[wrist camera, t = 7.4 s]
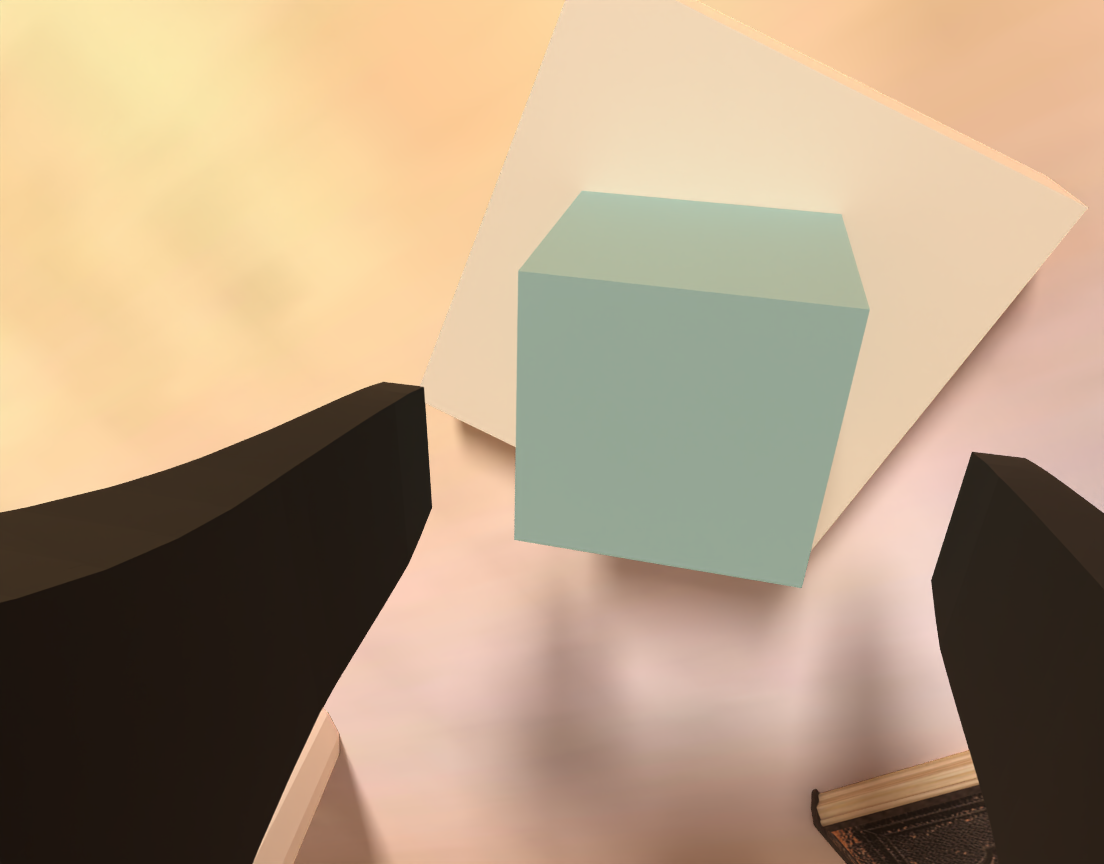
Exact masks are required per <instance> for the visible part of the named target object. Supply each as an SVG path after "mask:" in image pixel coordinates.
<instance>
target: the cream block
mask: <svg viewBox="0 0 1104 864" xmlns="http://www.w3.org/2000/svg"><path fill="white" fill-rule="evenodd" d="M581 191H591V192H602V193H613V194H624V195H635V196H646V197H657V198H668V199H679V200H690V201H701V202H712V203H723V204H734V205H745V206H756V207H767V208H778V209H789V210H800V211H811V212H822V213H833V214H842V218H843V221H844V224H845V228H846V231H847V234H848V238H849V241H850V245H851V248H852V251H853V255H854V258H855V261H856V265H857V268H858V271H859V275H860V278H861V281H862V285H863V288H864V291H865V295H866V298H867V301H868V305H869V308H870V311H869V315H868V319H867V323H866V327H865V332H864V336H863V340H862V344H861V348H860V352H859V356H858V360H857V364H856V368H855V372H854V376H853V381H852V385H851V389H850V393H849V397H848V401H847V405H846V409H845V413H844V417H843V421H842V426H841V430H840V434H839V438H838V442H837V446H836V450H835V454H834V458H833V462H832V466H831V470H830V475H829V479H828V483H827V487H826V491H825V495H824V499H823V503H822V507H821V511H820V515H819V519H818V524H817V528H816V532H815V536H814V540H813V544H812V548H811V550H812V549H813V548H814V547H815V545H816V544H817V543H818V542H819V540H820V539H821V538H822V537H823V535H824V534H825V533H826V532H827V530H828V529H829V528H830V527H831V526H832V524H833V523H834V522H835V521H836V519H837V518H838V517H839V516H840V514H841V513H842V512H843V511H844V509H845V508H846V507H847V506H848V504H849V503H850V502H851V501H852V500H853V498H854V497H855V496H856V495H857V493H858V492H859V491H860V490H861V488H862V487H863V486H864V485H865V483H866V482H867V481H868V480H869V478H870V477H871V476H872V475H873V474H874V472H875V471H876V470H877V469H878V467H879V466H880V465H881V464H882V462H883V461H884V460H885V459H886V457H887V456H888V455H889V454H890V452H891V451H892V450H893V449H894V448H895V446H896V445H897V444H898V443H899V441H900V440H901V439H902V438H903V436H904V435H905V434H906V433H907V431H908V430H909V429H910V428H911V426H912V425H913V424H914V423H915V422H916V420H917V419H918V418H919V417H920V415H921V414H922V413H923V412H924V410H925V409H926V408H927V407H928V405H929V404H930V403H931V402H932V400H933V399H934V398H935V397H936V396H937V394H938V393H939V392H940V391H941V389H942V388H943V387H944V386H945V384H946V383H947V382H948V381H949V379H950V378H951V377H952V376H953V374H954V373H955V372H956V371H957V369H958V368H959V367H960V366H961V365H962V363H963V362H964V361H965V360H966V358H967V357H968V356H969V355H970V353H971V352H972V351H973V350H974V348H975V347H976V346H977V345H978V343H979V342H980V341H981V340H982V339H983V337H984V336H985V335H986V334H987V332H988V331H989V330H990V329H991V327H992V326H993V325H994V324H995V322H996V321H997V320H998V319H999V317H1000V316H1001V315H1002V314H1003V313H1004V311H1005V310H1006V309H1007V308H1008V306H1009V305H1010V304H1011V303H1012V301H1013V300H1014V299H1015V298H1016V296H1017V295H1018V294H1019V293H1020V291H1021V290H1022V289H1023V288H1024V287H1025V285H1026V284H1027V283H1028V282H1029V280H1030V279H1031V278H1032V277H1033V275H1034V274H1035V273H1036V272H1037V270H1038V269H1039V268H1040V267H1041V265H1042V264H1043V263H1044V262H1045V261H1046V259H1047V258H1048V257H1049V256H1050V254H1051V253H1052V252H1053V251H1054V249H1055V248H1056V247H1057V246H1058V244H1059V243H1060V242H1061V241H1062V239H1063V238H1064V237H1065V236H1066V235H1067V233H1068V232H1069V231H1070V230H1071V228H1072V227H1073V226H1074V225H1075V223H1076V222H1077V221H1078V220H1079V218H1080V217H1081V216H1082V215H1083V213H1084V212H1085V211H1086V210H1087V209H1088V207H1087V206H1086V205H1085V204H1083V203H1082V202H1081V201H1079V200H1078V199H1077V198H1075V197H1074V196H1073V195H1071V194H1070V193H1069V192H1067V191H1066V190H1065V189H1063V188H1062V187H1061V186H1059V185H1058V184H1057V183H1055V182H1054V181H1053V180H1051V179H1050V178H1049V177H1047V176H1046V175H1044V174H1042V173H1040V172H1038V171H1036V170H1034V169H1032V168H1030V167H1028V166H1026V165H1024V164H1022V163H1020V162H1018V161H1016V160H1014V159H1012V158H1010V157H1008V156H1006V155H1004V154H1002V153H1000V152H998V151H996V150H994V149H992V148H990V147H988V146H986V145H984V144H982V143H980V142H978V141H976V140H974V139H972V138H970V137H968V136H966V135H964V134H962V133H960V132H958V131H956V130H954V129H952V128H950V127H948V126H946V125H944V124H942V123H940V122H938V121H936V120H934V119H932V118H930V117H928V116H926V115H924V114H922V113H920V112H918V111H916V110H914V109H912V108H910V107H908V106H906V105H904V104H902V103H900V102H898V101H896V100H894V99H892V98H890V97H888V96H886V95H884V94H882V93H880V92H878V91H877V90H875V89H873V88H871V87H869V86H867V85H865V84H863V83H861V82H859V81H857V80H855V79H853V78H851V77H849V76H847V75H845V74H843V73H841V72H839V71H837V70H835V69H833V68H831V67H829V66H827V65H825V64H823V63H821V62H819V61H817V60H815V59H813V58H811V57H809V56H807V55H805V54H803V53H801V52H799V51H797V50H795V49H793V48H791V47H789V46H787V45H785V44H783V43H781V42H779V41H777V40H775V39H773V38H771V37H769V36H767V35H765V34H763V33H761V32H759V31H757V30H755V29H753V28H751V27H749V26H747V25H745V24H743V23H741V22H739V21H737V20H735V19H733V18H731V17H729V16H727V15H725V14H723V13H721V12H719V11H717V10H715V9H713V8H711V7H709V6H707V5H705V4H703V3H701V2H699V1H697V0H565V3H564V5H563V8H562V11H561V13H560V16H559V19H558V21H557V24H556V26H555V29H554V32H553V34H552V37H551V40H550V42H549V45H548V48H547V50H546V53H545V56H544V58H543V61H542V64H541V66H540V69H539V72H538V74H537V77H536V80H535V82H534V85H533V87H532V90H531V93H530V95H529V98H528V101H527V103H526V106H525V109H524V111H523V114H522V117H521V119H520V122H519V125H518V127H517V130H516V133H515V135H514V138H513V141H512V143H511V146H510V148H509V151H508V154H507V156H506V159H505V162H504V164H503V167H502V170H501V172H500V175H499V178H498V180H497V183H496V186H495V188H494V191H493V194H492V196H491V199H490V202H489V204H488V207H487V209H486V212H485V215H484V217H483V220H482V223H481V225H480V228H479V231H478V233H477V236H476V239H475V241H474V244H473V247H472V249H471V252H470V255H469V257H468V260H467V263H466V265H465V268H464V270H463V273H462V276H461V278H460V281H459V284H458V286H457V289H456V292H455V294H454V297H453V300H452V302H451V305H450V308H449V310H448V313H447V316H446V318H445V321H444V323H443V326H442V329H441V331H440V334H439V337H438V339H437V342H436V345H435V347H434V350H433V353H432V355H431V358H430V361H429V363H428V366H427V369H426V371H425V374H424V377H423V379H422V382H421V384H420V386H421V387H424V393H425V403H426V404H428V405H430V406H432V407H434V408H436V409H438V410H440V411H442V412H444V413H446V414H448V415H450V416H452V417H454V418H456V419H459V420H461V421H463V422H465V423H467V424H469V425H471V426H473V427H475V428H477V429H479V430H481V431H483V432H485V433H487V434H489V435H491V436H493V437H496V438H498V439H500V440H502V441H504V442H506V443H508V444H510V445H512V446H514V447H516V390H517V319H518V271H519V269H520V268H521V267H522V266H523V264H524V263H525V262H526V260H527V259H528V258H529V257H530V255H531V254H532V253H533V252H534V250H535V249H536V248H537V247H538V245H539V244H540V243H541V242H542V240H543V239H544V238H545V237H546V235H547V234H548V233H549V232H550V230H551V229H552V228H553V226H554V225H555V224H556V223H557V221H558V220H559V219H560V218H561V216H562V215H563V214H564V213H565V211H566V210H567V209H568V208H569V206H570V205H571V204H572V203H573V201H574V200H575V199H576V198H577V196H578V195H579V194H580V193H581Z"/></svg>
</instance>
